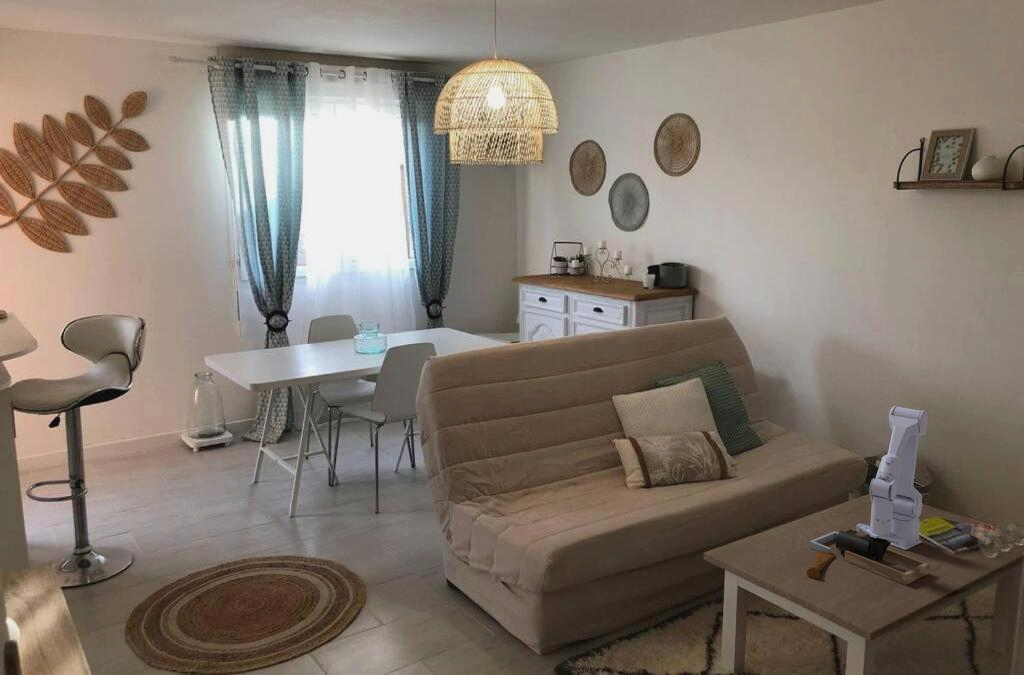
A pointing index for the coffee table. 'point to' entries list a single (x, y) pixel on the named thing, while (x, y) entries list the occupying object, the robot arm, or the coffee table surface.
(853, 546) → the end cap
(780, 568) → the coffee table surface
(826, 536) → the frame
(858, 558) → the cubby
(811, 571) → the primitive tool
